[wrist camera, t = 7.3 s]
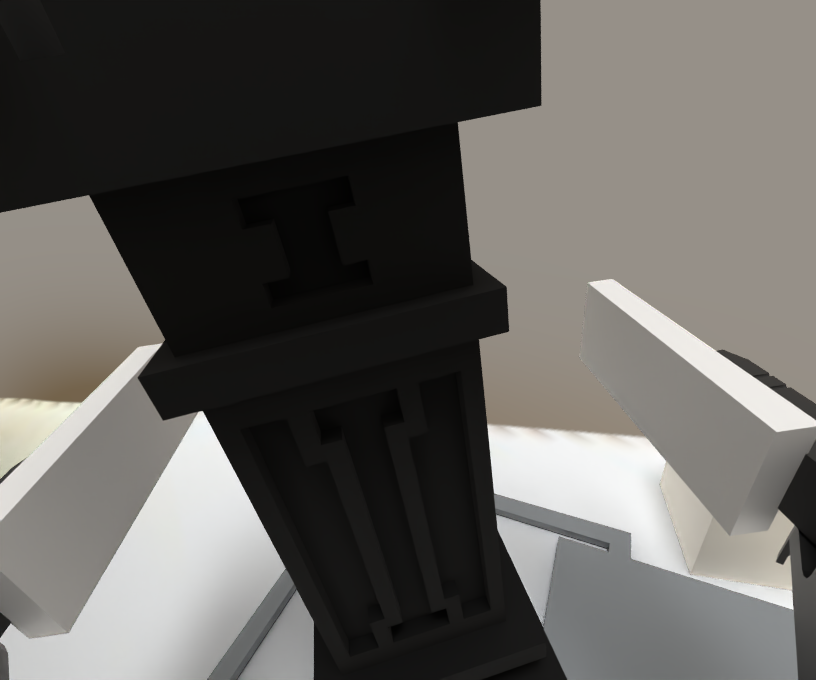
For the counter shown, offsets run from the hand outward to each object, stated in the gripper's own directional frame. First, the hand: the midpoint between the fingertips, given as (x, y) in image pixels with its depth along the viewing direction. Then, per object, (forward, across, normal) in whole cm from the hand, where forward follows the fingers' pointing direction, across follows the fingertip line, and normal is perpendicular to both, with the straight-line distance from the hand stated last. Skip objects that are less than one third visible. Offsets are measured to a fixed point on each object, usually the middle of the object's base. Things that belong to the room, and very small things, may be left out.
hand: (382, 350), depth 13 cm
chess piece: (-3, 0, -11) cm, 11 cm away
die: (-1, +14, -11) cm, 18 cm away
